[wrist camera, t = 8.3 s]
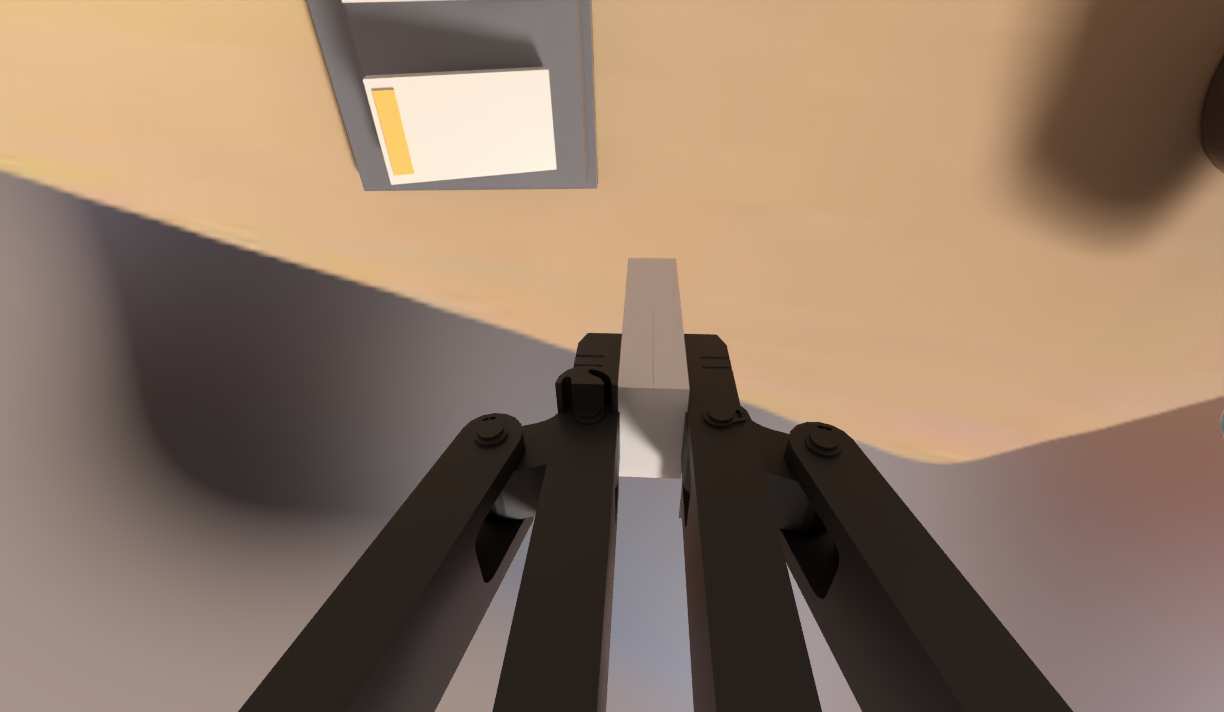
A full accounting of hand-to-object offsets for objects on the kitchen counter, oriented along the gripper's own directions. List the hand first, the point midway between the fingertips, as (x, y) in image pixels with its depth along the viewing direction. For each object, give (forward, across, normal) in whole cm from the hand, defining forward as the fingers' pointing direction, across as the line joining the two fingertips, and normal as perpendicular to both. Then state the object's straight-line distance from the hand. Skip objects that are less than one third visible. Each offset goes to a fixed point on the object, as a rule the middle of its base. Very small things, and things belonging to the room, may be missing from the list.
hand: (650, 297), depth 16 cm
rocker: (+14, +10, -3) cm, 17 cm away
